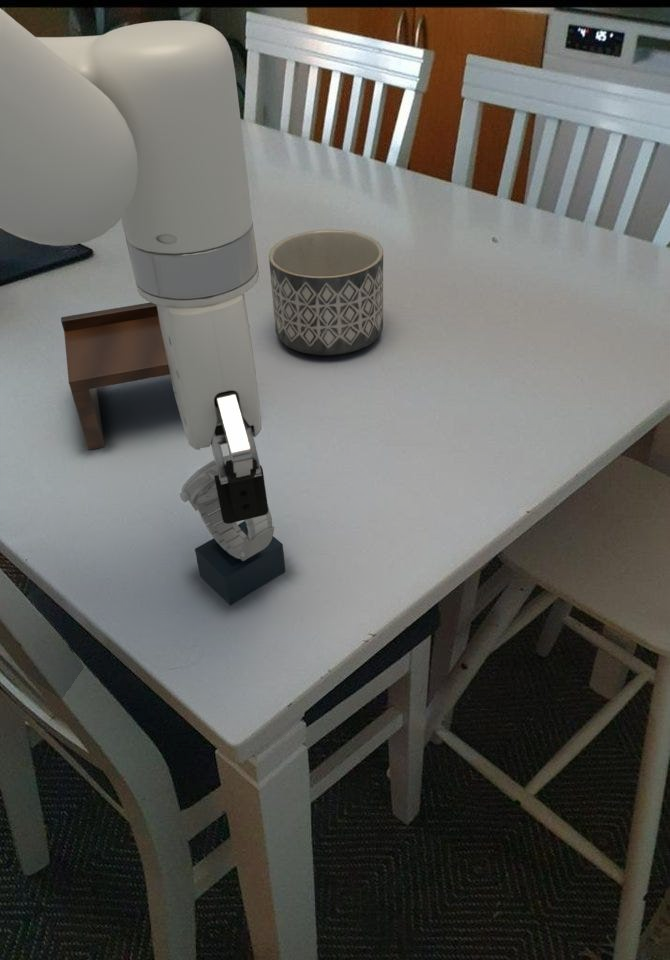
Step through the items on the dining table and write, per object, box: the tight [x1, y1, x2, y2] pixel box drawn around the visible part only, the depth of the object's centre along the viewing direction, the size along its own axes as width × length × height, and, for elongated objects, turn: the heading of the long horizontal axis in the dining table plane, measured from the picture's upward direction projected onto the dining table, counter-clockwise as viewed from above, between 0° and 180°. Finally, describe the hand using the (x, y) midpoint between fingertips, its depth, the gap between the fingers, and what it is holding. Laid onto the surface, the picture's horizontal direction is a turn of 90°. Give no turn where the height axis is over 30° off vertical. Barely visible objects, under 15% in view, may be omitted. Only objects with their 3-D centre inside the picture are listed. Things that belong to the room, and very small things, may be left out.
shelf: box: [60, 302, 171, 451], centre depth 83 cm, size 16×11×9 cm
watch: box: [179, 454, 286, 606], centre depth 63 cm, size 6×8×11 cm
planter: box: [268, 229, 384, 356], centre depth 93 cm, size 13×13×10 cm
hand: (231, 474), depth 60 cm, fingers open, 9 cm apart
